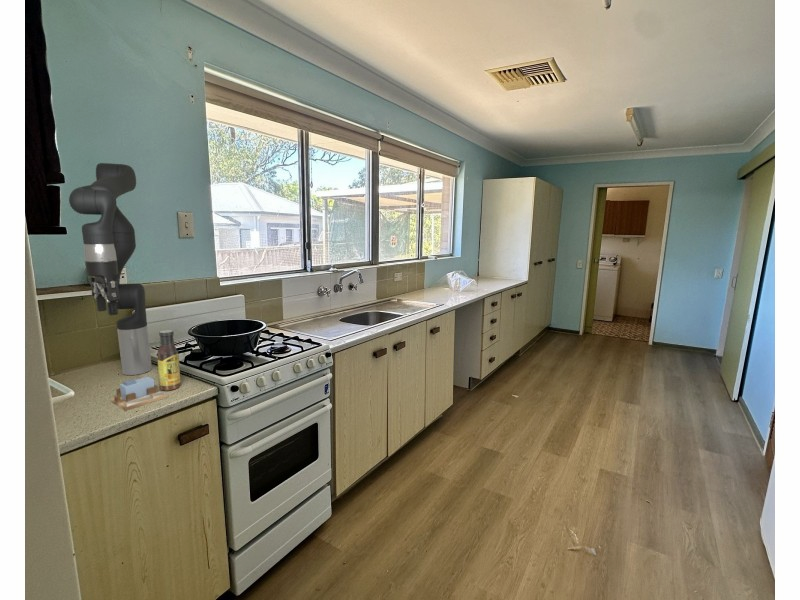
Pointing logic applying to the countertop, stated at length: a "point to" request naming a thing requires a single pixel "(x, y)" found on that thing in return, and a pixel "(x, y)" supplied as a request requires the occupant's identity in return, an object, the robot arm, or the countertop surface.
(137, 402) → the jig
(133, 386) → the light blue block
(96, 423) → the countertop surface
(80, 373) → the countertop surface
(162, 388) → the sauce bottle
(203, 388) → the countertop surface
